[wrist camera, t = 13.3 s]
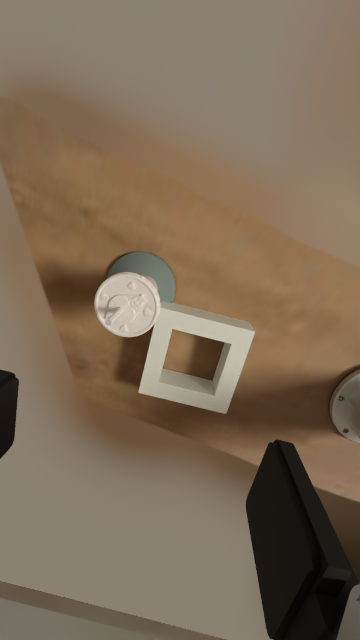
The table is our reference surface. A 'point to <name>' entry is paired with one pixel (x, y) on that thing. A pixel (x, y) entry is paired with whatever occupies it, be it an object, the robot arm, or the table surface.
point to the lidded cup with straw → (127, 304)
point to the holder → (187, 386)
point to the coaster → (148, 272)
